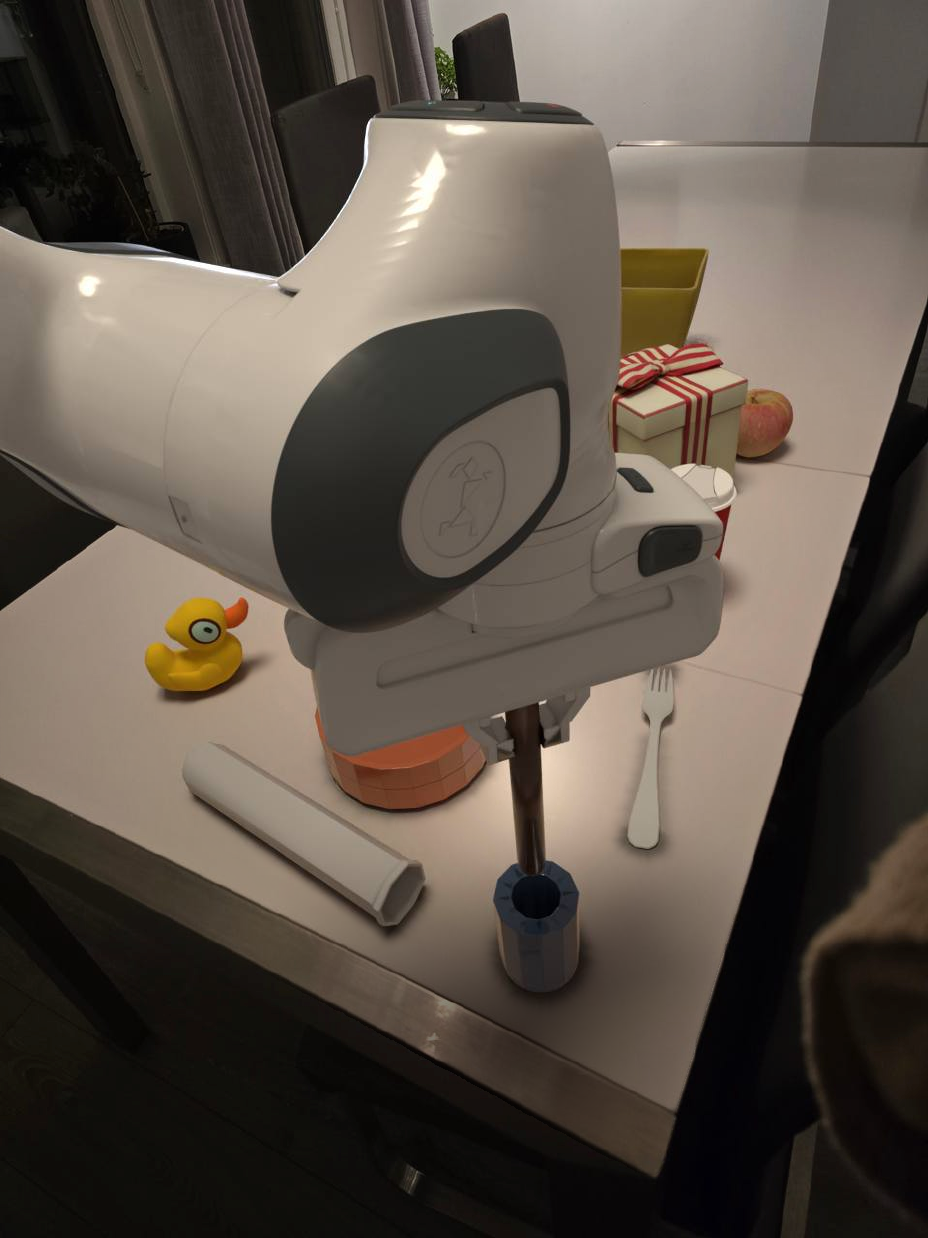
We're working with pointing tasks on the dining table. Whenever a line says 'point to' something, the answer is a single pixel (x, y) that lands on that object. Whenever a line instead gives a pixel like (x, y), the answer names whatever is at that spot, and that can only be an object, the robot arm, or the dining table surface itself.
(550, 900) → the crock
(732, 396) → the gift box
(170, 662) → the duckling
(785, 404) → the apple
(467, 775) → the orange round shallow dish
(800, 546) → the dining table surface
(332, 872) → the tube
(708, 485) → the paper cup
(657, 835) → the fork
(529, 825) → the stirring stick
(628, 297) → the flower pot
